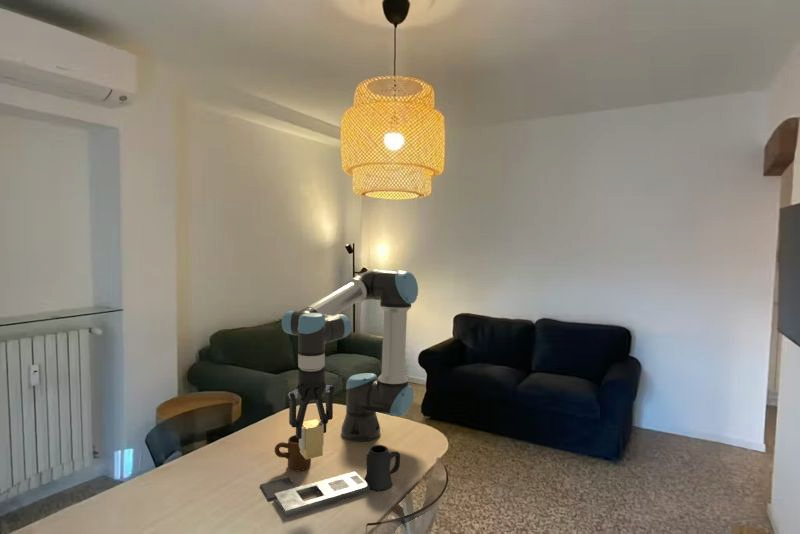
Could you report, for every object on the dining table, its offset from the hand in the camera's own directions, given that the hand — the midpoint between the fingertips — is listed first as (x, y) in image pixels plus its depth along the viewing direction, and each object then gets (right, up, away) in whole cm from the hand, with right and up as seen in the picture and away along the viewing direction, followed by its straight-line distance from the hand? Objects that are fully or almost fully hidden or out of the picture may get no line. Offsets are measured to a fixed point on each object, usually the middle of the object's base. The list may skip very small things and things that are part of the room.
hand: (311, 446), depth 135 cm
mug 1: (-10, -15, +20) cm, 27 cm away
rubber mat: (-11, -15, +6) cm, 20 cm away
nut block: (0, -2, 0) cm, 2 cm away
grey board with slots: (+3, -16, +3) cm, 16 cm away
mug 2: (+20, -16, +11) cm, 28 cm away
